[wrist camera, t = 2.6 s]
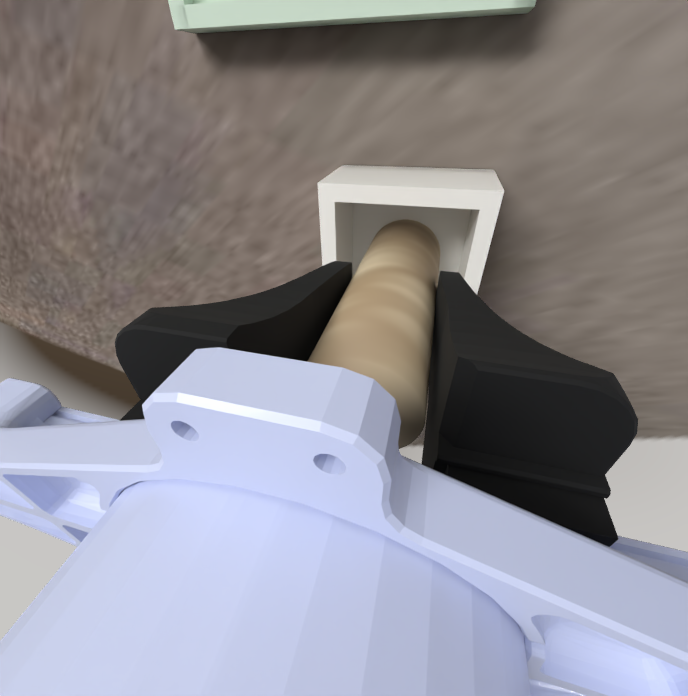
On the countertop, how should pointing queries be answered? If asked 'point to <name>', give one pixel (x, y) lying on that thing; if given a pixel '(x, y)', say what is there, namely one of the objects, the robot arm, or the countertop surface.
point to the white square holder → (411, 212)
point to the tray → (326, 12)
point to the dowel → (390, 319)
